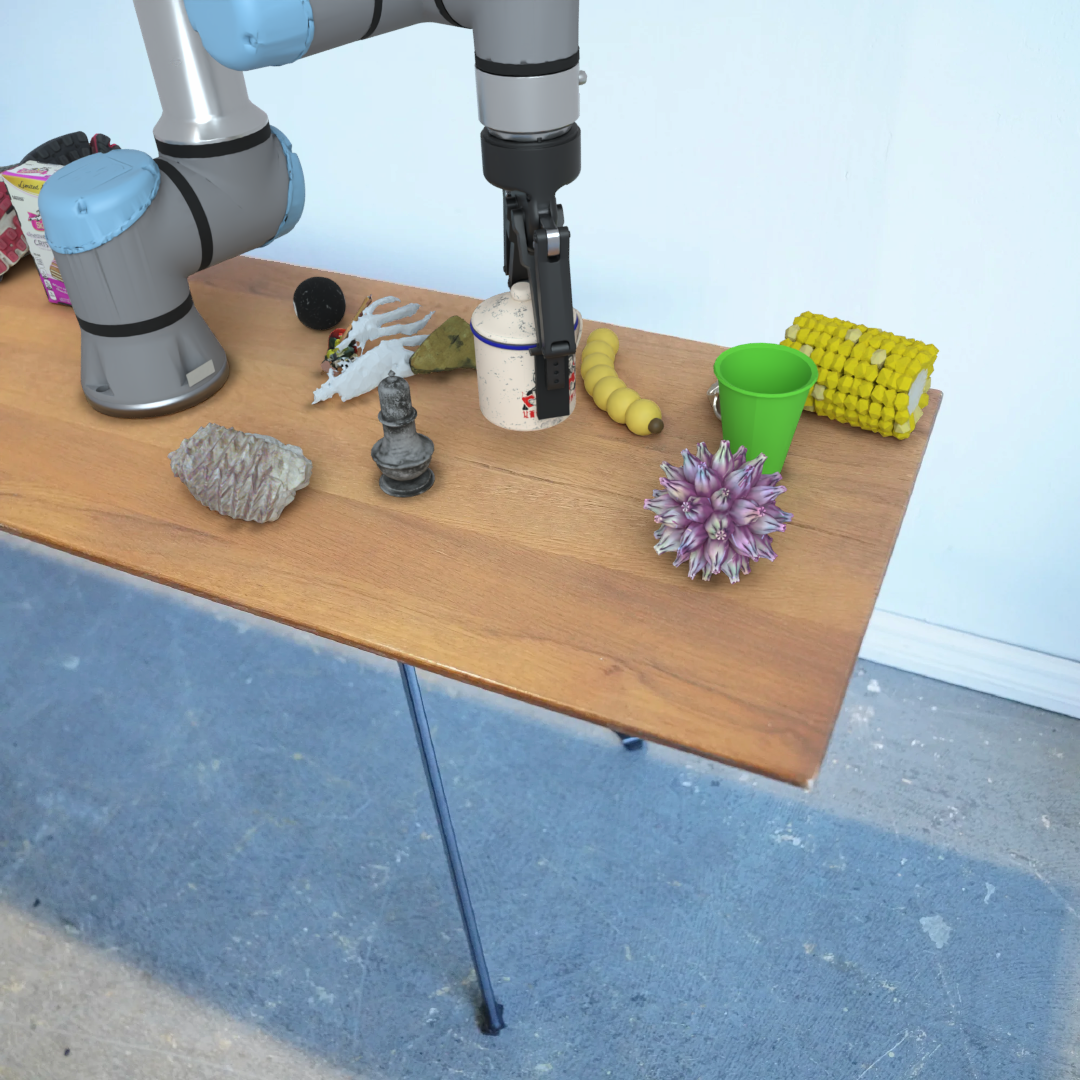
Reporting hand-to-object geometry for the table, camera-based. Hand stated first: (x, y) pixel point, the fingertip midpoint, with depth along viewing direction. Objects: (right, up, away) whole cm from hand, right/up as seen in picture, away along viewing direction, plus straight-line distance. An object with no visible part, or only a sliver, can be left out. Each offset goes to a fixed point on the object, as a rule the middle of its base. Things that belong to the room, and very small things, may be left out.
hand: (540, 386), depth 90 cm
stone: (-9, +4, +22) cm, 24 cm away
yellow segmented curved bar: (+8, +2, +17) cm, 19 cm away
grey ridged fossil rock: (-27, -9, +6) cm, 29 cm away
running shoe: (-68, +29, +39) cm, 84 cm away
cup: (+20, -7, +6) cm, 22 cm away
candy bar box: (-55, +16, +37) cm, 69 cm away
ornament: (+21, 0, +14) cm, 25 cm away
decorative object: (-15, +5, +22) cm, 27 cm away
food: (+28, -1, +6) cm, 29 cm away
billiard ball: (-26, +12, +31) cm, 42 cm away
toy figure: (-20, +7, +18) cm, 28 cm away
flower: (+15, -16, -4) cm, 22 cm away
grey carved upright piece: (-13, -8, +7) cm, 16 cm away
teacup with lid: (0, -1, +2) cm, 2 cm away
